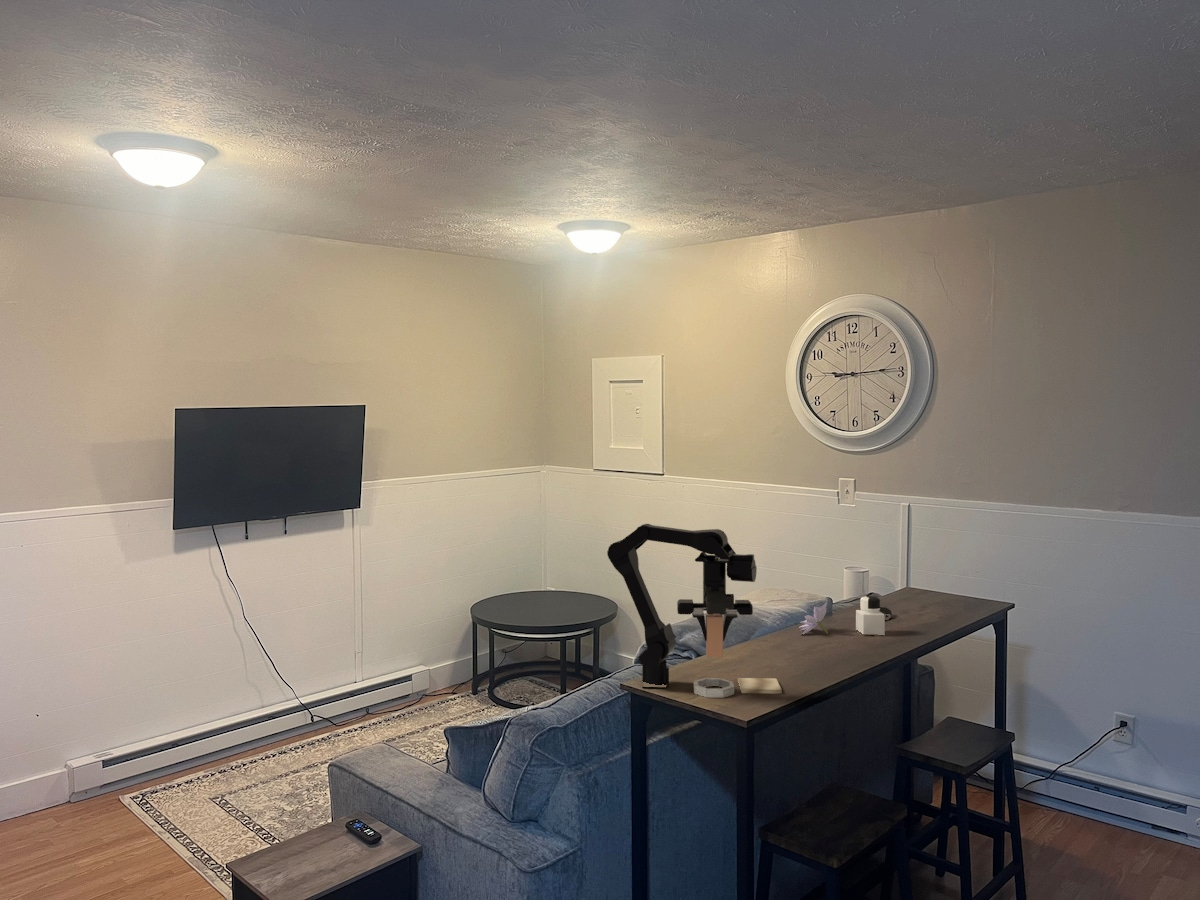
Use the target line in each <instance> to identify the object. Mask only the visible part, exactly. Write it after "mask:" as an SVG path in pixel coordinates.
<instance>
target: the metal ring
mask: <svg viewBox="0 0 1200 900" xmlns="http://www.w3.org/2000/svg"><path fill="white" fill-rule="evenodd" d="M704 686H719V687H704ZM720 687H722V688H720ZM693 693H695V695H697V694H698V695H697V696H700V697H703V696H704V698H711V699H712V698H713V699H714V698H716V699H719V698H720V699H723V698H728V697H729V696H733V695H735V685H734V682H733V681H731V680H728V679H725V678H720V677H718V678H717V677H703V678H701V679H696V680H694V681H693Z"/></svg>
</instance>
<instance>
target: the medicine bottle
mask: <svg viewBox="0 0 1200 900" xmlns="http://www.w3.org/2000/svg"><path fill="white" fill-rule="evenodd" d="M859 604H860V609H856V610H855V631H856V630H858V631H859V632H861V633H862V634H878V635H884V636H885V634H886V633H885V630H886V629H885V626H886V624H885V622H886V621H885V615H884V614H883V613H881V612H880V611H879V610H880V607H881V600H880V598H879V597H877V596H872V595H865V596H864V595H863V596H862V597H860V602H859Z"/></svg>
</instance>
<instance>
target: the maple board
mask: <svg viewBox="0 0 1200 900" xmlns="http://www.w3.org/2000/svg"><path fill="white" fill-rule="evenodd" d="M737 683H739V684H738V686H740V687H739V689H740V691H741V694H772V695H773V694H779V695H782V694H783V691H782V687H781V685H780V684H779V682H778V679H777V678H771V677H769V678H768V677H766V678H765V677H761V678H760V677H752V678H751V677H737Z"/></svg>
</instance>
